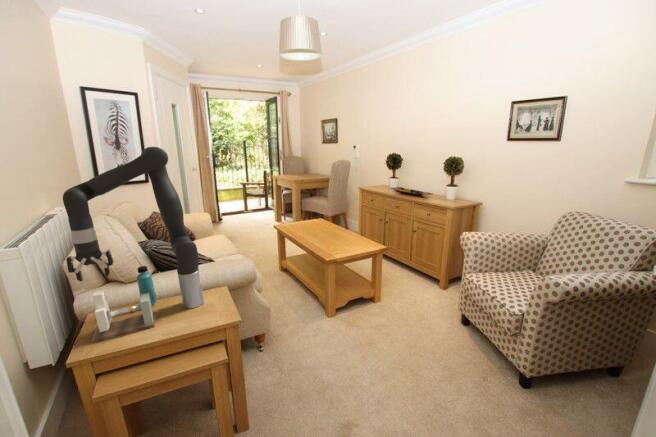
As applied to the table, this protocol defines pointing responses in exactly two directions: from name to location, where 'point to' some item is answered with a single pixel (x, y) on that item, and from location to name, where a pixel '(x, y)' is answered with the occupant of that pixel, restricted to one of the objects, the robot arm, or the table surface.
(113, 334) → the pipe board
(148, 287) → the beverage bottle
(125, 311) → the steel pipe
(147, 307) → the mount block
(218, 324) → the table surface
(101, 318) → the white stepped block
